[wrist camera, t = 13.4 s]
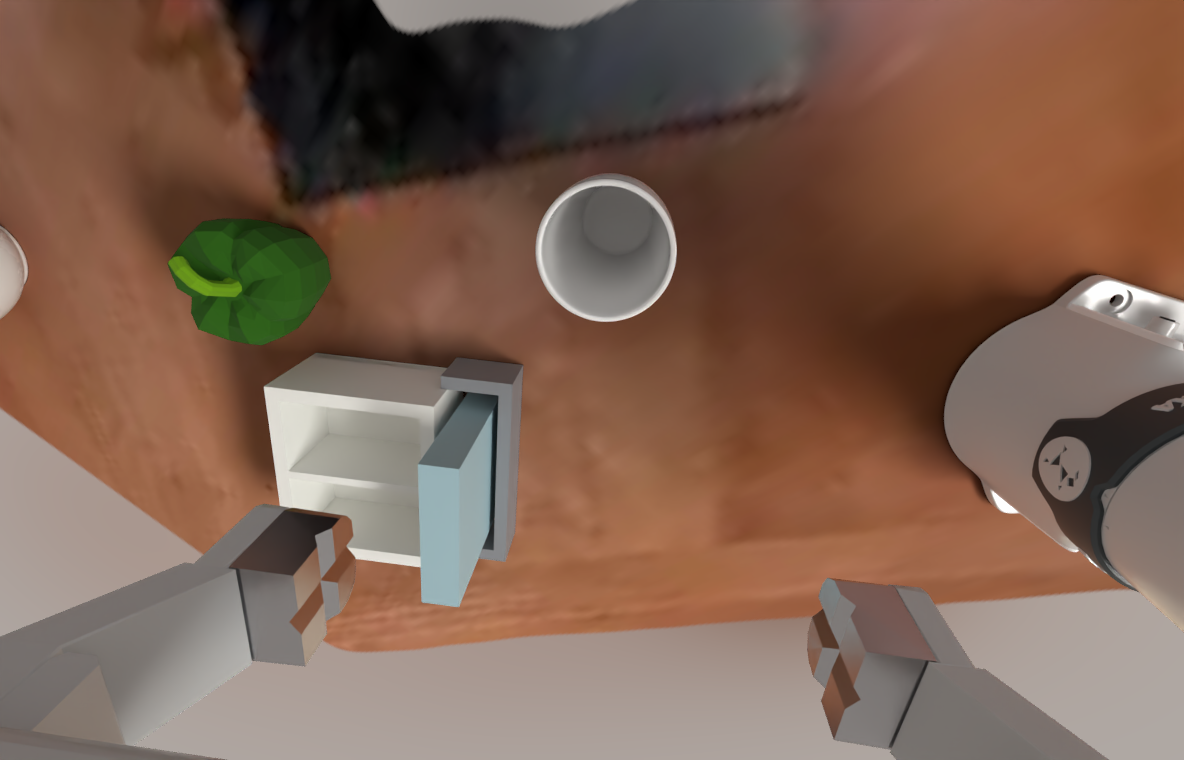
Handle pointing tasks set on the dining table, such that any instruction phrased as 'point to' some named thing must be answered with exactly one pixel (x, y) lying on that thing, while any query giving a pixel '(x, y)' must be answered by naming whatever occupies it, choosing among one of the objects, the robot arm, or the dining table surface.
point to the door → (457, 498)
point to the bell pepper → (249, 278)
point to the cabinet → (384, 444)
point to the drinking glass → (606, 247)
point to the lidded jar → (11, 271)
